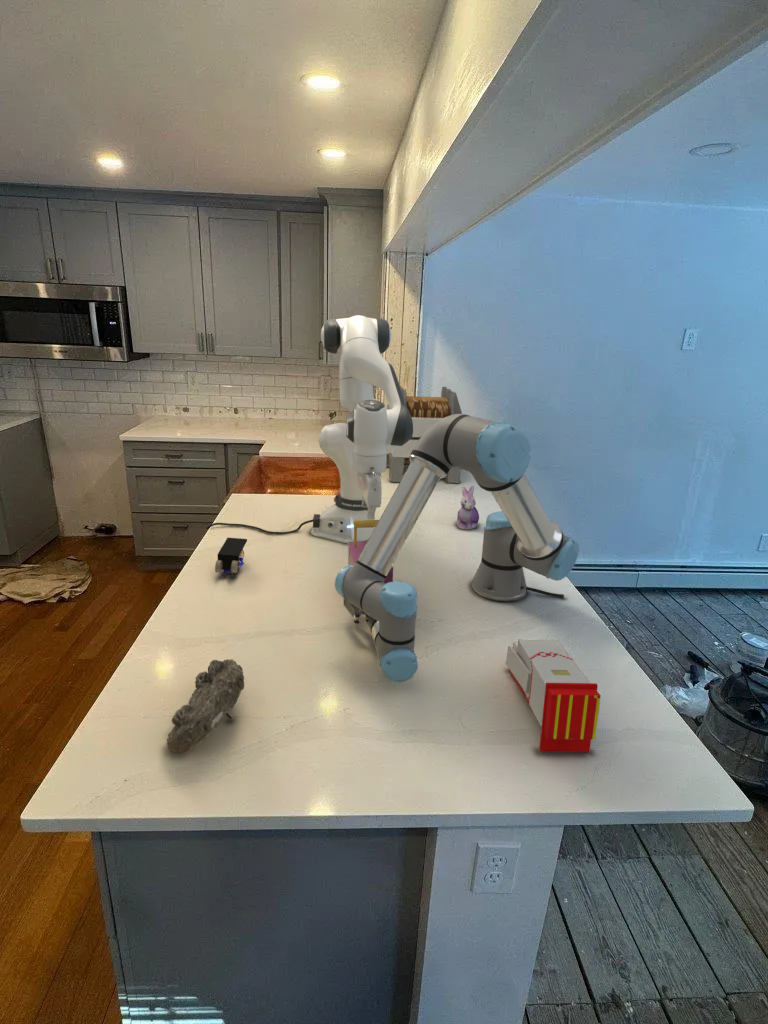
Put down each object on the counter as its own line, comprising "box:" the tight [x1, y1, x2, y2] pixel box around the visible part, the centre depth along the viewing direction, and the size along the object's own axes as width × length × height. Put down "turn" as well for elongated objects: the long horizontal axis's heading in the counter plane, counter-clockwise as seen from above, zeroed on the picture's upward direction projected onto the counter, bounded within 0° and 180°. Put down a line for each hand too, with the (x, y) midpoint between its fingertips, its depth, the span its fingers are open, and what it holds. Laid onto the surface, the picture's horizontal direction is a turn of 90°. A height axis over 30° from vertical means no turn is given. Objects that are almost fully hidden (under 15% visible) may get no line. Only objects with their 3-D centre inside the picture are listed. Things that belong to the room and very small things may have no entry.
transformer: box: [386, 385, 463, 484], centre depth 268 cm, size 34×33×41 cm
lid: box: [347, 519, 394, 573], centre depth 151 cm, size 18×10×9 cm, turn 10°
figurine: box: [456, 485, 480, 530], centre depth 208 cm, size 9×10×15 cm
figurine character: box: [214, 537, 248, 578], centre depth 166 cm, size 7×8×15 cm
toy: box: [505, 638, 602, 753], centre depth 114 cm, size 12×13×30 cm
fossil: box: [166, 658, 245, 754], centre depth 106 cm, size 22×10×15 cm
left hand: (368, 512), depth 154 cm, fingers open, 8 cm apart
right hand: (372, 584), depth 150 cm, fingers closed on chest, 9 cm apart
